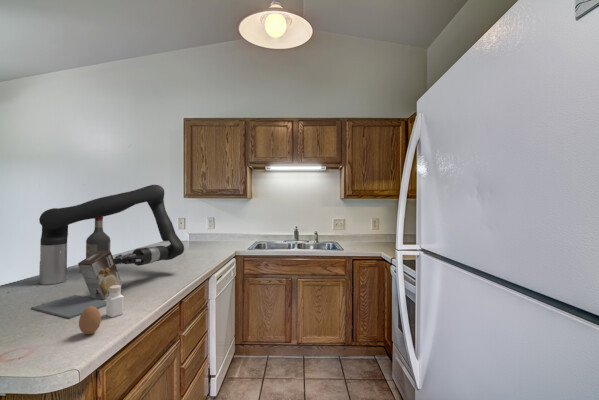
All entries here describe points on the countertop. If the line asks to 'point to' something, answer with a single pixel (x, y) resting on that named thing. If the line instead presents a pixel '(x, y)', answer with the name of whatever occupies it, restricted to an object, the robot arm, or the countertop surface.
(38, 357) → the countertop surface
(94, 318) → the egg
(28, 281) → the countertop surface
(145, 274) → the countertop surface
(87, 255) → the liquor
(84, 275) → the coffee box
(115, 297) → the salt shaker
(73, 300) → the mat
